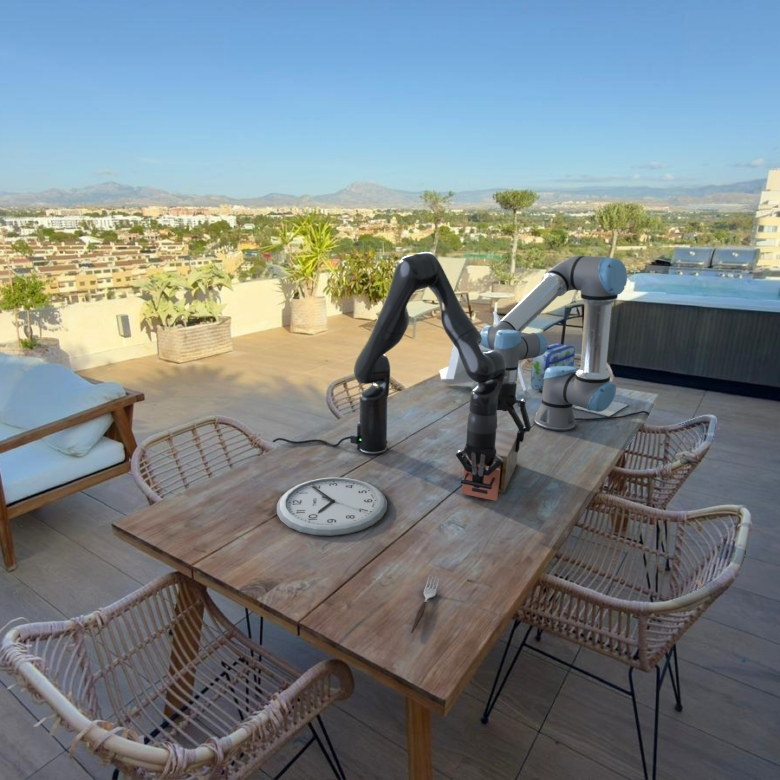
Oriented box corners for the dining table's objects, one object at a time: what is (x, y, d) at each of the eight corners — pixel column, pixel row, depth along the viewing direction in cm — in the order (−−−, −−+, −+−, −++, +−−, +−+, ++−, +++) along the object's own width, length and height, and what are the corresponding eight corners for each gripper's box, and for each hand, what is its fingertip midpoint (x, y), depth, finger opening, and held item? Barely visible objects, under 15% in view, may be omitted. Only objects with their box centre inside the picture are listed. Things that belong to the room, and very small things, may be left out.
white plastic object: (461, 429, 252) (437, 405, 227) (444, 352, 274) (420, 323, 250) (535, 404, 240) (518, 377, 215) (510, 326, 262) (492, 293, 237)
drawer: (492, 511, 139) (494, 479, 137) (456, 503, 143) (458, 472, 140) (510, 471, 162) (512, 444, 159) (478, 466, 166) (480, 438, 163)
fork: (404, 633, 98) (405, 624, 97) (428, 582, 112) (428, 574, 112) (418, 637, 97) (418, 628, 97) (440, 584, 111) (440, 576, 111)
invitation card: (608, 416, 214) (573, 407, 224) (608, 416, 214) (573, 408, 224) (628, 404, 229) (594, 396, 238) (628, 405, 229) (594, 397, 238)
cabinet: (503, 493, 151) (507, 456, 148) (466, 485, 155) (468, 450, 152) (516, 464, 170) (519, 431, 166) (482, 458, 174) (485, 426, 170)
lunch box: (547, 395, 239) (552, 351, 233) (526, 390, 247) (530, 347, 240) (574, 384, 257) (579, 343, 251) (554, 380, 264) (558, 339, 258)
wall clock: (392, 527, 129) (268, 531, 127) (391, 533, 130) (269, 537, 127) (383, 473, 158) (282, 475, 155) (383, 478, 158) (282, 480, 156)
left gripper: (453, 428, 135) (449, 487, 141) (504, 436, 131) (498, 498, 136) (461, 418, 142) (457, 475, 147) (510, 426, 137) (504, 485, 143)
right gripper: (463, 379, 160) (459, 445, 167) (542, 389, 152) (534, 458, 158) (469, 373, 167) (465, 437, 173) (545, 382, 158) (538, 449, 165)
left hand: (477, 486), depth 142 cm, fingers closed
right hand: (498, 447), depth 166 cm, fingers closed on cabinet, 11 cm apart
